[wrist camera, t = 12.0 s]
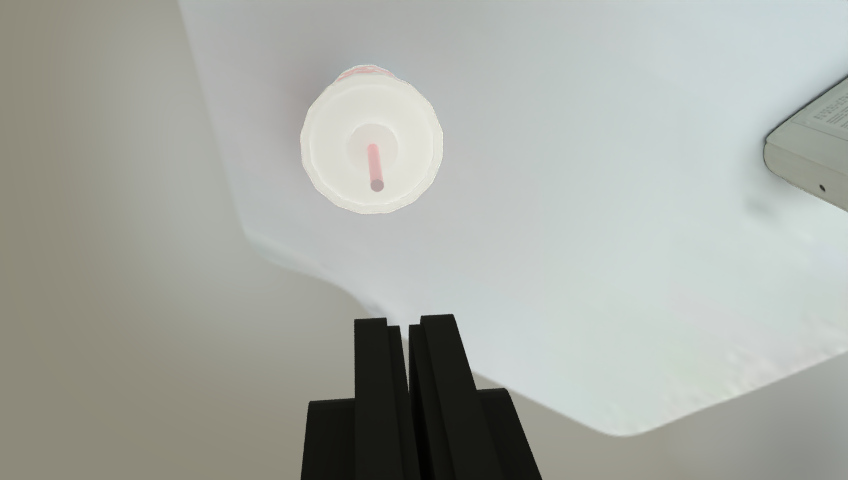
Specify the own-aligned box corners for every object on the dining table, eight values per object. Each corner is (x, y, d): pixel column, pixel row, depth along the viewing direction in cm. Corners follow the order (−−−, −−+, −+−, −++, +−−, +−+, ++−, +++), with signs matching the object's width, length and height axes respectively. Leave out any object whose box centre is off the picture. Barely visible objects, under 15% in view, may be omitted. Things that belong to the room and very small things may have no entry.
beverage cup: (442, 88, 33) (498, 156, 20) (385, 177, 35) (404, 291, 22) (347, 26, 31) (344, 59, 19) (292, 124, 33) (255, 214, 20)
